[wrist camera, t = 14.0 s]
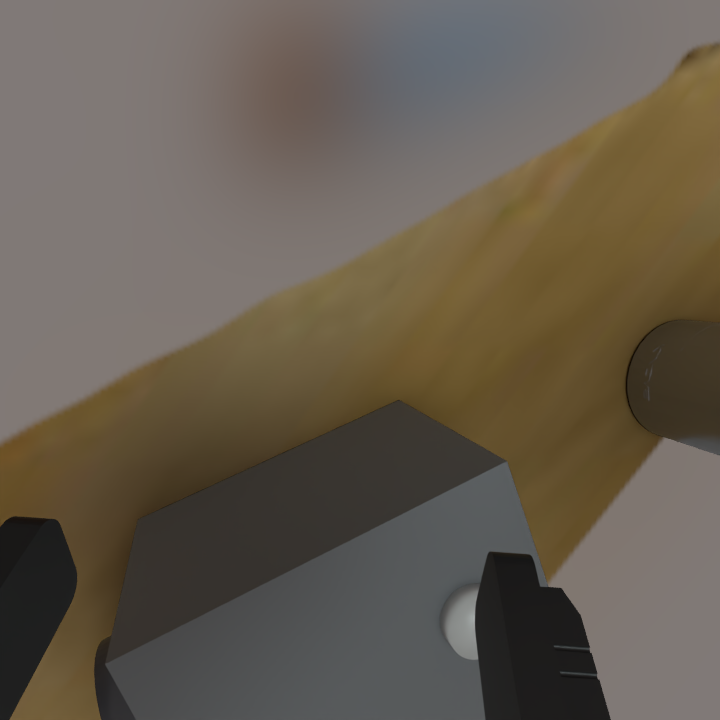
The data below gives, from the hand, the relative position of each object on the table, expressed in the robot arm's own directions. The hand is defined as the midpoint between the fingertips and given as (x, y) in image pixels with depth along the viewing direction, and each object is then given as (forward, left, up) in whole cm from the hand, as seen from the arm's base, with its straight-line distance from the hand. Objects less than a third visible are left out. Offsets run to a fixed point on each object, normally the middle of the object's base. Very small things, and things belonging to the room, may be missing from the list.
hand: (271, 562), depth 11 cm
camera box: (-7, +11, -26) cm, 29 cm away
